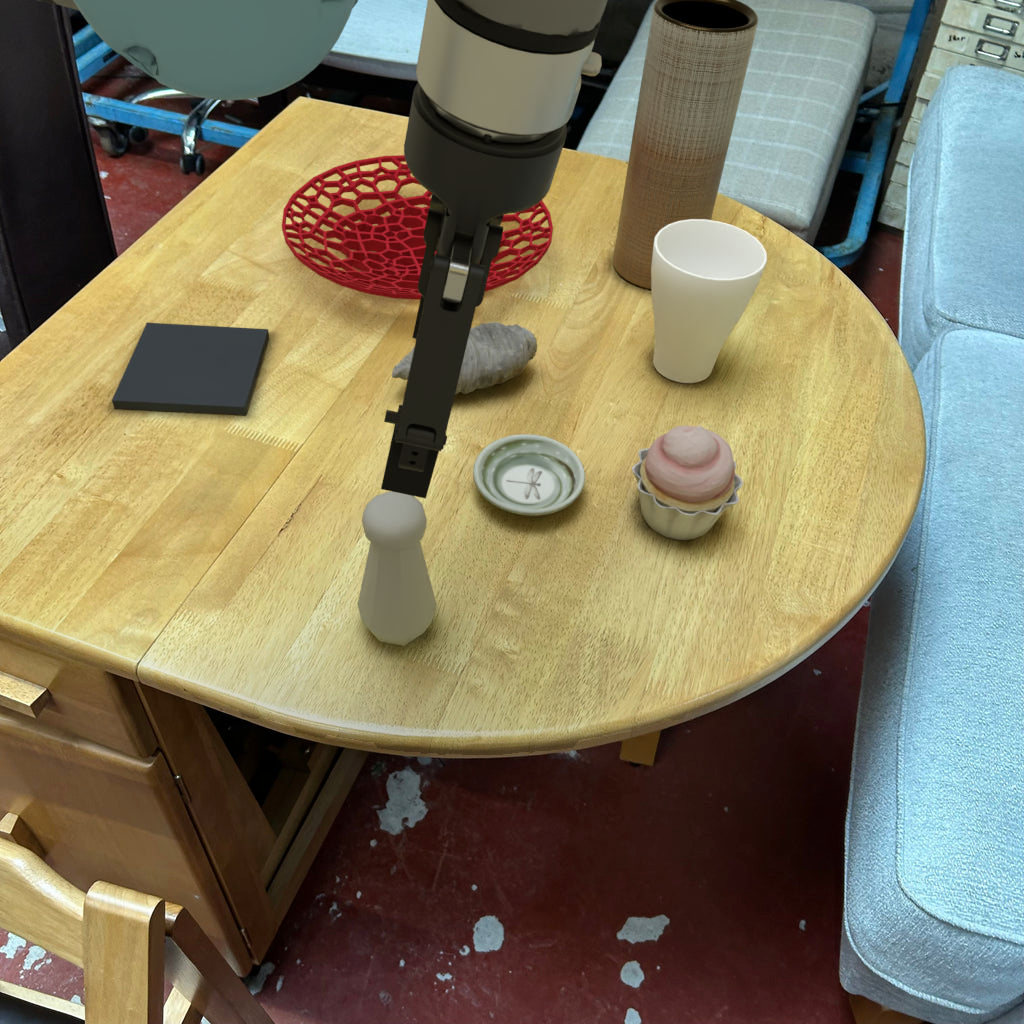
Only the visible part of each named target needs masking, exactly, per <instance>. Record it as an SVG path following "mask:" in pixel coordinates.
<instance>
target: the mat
mask: <svg viewBox="0 0 1024 1024" xmlns="http://www.w3.org/2000/svg"><path fill="white" fill-rule="evenodd" d="M269 340H270V332H269V329H268V328H256V327H255V328H253V327H235V326H234V327H233V326H220V325H219V326H217V325H200V324H199V325H198V324H180V323H179V324H178V323H161V322H146V323H145V326H144V328H143V330H142V332H141V335H140V337H139V339H138V342H137V343H136V346H135V348H134V350H133V353H132V355H131V356H130V359H129V361H128V364H127V365H126V368H125V370H124V372H123V375H122V376H121V379H120V381H119V383H118V386H117V388H116V390H115V392H114V394H113V397H112V399H111V402H112V405H113V408H114V409H116V410H117V409H118V410H136V411H137V410H138V411H158V412H175V413H194V414H195V413H196V414H215V415H217V414H219V415H237V416H247V413H248V411H249V408H250V407H249V406H250V404H251V400H252V397H253V393H254V391H255V390H254V389H255V386H256V383H257V379H258V377H259V373H260V370H261V367H262V363H263V359H264V355H265V352H266V348H267V347H268V344H269V343H268V342H269Z"/></svg>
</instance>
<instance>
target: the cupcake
mask: <svg viewBox="0 0 1024 1024" xmlns="http://www.w3.org/2000/svg"><path fill="white" fill-rule="evenodd" d="M732 451H733V450H732V448H731V445H730V444H729V443H728V442H727V441H726V439H724V438H723V437H722V436H721V435H720V434H718V433H716V432H714V431H713V430H709V429H706V428H705V427H703V426H702V425H700V424H698V425H697V426H693V425H678V426H674V427H673V428H671V429H669V430H668V431H667V432H665V433H663V434H662V435H659V436H658V437H657V438H656V439H655V440H654V441H653V442H652V444H651V445H650V447H649V448H648V447H647V448H641V449H638V456H639V457H638V458H639V461H638V462H636V463H635V464H634V465H632V467H631V471H632V473H633V475H634V478H635V480H636V483H637V490H638V492H639V501H640V511H641V515H642V517H643V519H644V521H645V522H646V524H647V525H648V526H649V528H650V529H651V530H653V531H654V532H656V533H657V534H659V535H661V536H663V537H665V538H668V539H671V540H677V541H678V540H679V541H689V540H695V539H697V538H700V537H702V536H704V535H706V534H707V533H708V532H709V531H710V530H711V529H712V528H713V526H714V525H715V523H716V522H717V521H718V520H719V518H720V517H721V516H722V515H723V514H724V512H726V511H727V510H729V509H730V508H732V507H733V506H736V505H737V504H738V503H740V502H739V501H740V499H739V495H738V493H737V492H738V491H739V490H740V489H741V488H742V487H743V485H744V481H743V479H742V477H741V476H740V475H738V474H737V473H736V468H737V462H736V461H735V460H734V457H733V452H732Z"/></svg>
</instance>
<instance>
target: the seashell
mask: <svg viewBox="0 0 1024 1024" xmlns="http://www.w3.org/2000/svg"><path fill="white" fill-rule="evenodd" d="M537 341H538V340H537V337H536V336H535V334H534V333H533V332H532V331H530V330H529V329H527V328H526V327H523V326H521V325H520V324H516V323H515V324H508V325H506V324H503V323H500V322H498V321H491V322H482V323H480V324H479V325H476V326H473V327H471V329H470V333H469V338H468V342H467V346H466V350H465V354H464V359H463V363H462V367H461V371H460V375H459V380H458V384H457V388H456V392H455V395H458V394H459V393H462V394H463V395H467V394H469V393H472V392H474V391H475V390H476V389H477V390H481V389H486V388H489V387H493V386H494V385H500V384H503V383H505V382H507V381H509V380H510V379H512V378H516V377H519V376H520V375H521V374H522V373H523V371H524V370H525V369H526V367H527V365H528V363H529V362H530V361H531V360H533V359H534V358H535V356H536V354H537V351H538V342H537ZM413 352H414V347H413V348H412V349H411V350H410V352H409V353H406V355H404V356H403V358H402V359H401V360H400V361H399V362H398V363H397V364H396V365H394V367H393V369H392V373H391V377H392V378H393V379H401V380H403V381H407V380H408V376H409V371H410V366H411V361H412V357H413Z"/></svg>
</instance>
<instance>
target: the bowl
mask: <svg viewBox="0 0 1024 1024" xmlns="http://www.w3.org/2000/svg"><path fill="white" fill-rule="evenodd" d="M403 162H404V163H403ZM382 163H391V164H393V165H394V166H396V167H397V168H396V169H389V168H386V167H384V166H382V165H383V164H382ZM376 164H377V165H378V167H377V168H375V169H373V170H361V167H365V166H371V165H376ZM353 169H356V171H354V172H350V173H345V172H346V171H349V170H353ZM335 175H338V176H339V177H340V178H339V180H326V179H328V178H330V177H332V176H335ZM399 177H406V178H402V179H400V178H399ZM366 178H373V180H369V179H366ZM384 181H393V182H395V183H396V186H395V187H394V189H393V190H384V191H382V190H380V189H379V188H378V186H377V185H378V184H379V183H380V182H384ZM318 183H319V184H320V186H319V185H318ZM345 183H346V184H347V185H345V186H344V184H345ZM410 184H414V185H415V184H416V185H420V186H422V185H421V184H420V183H419V182H418V181H417V180H416V179H415V177H414V176H412V173H411V172H410V170H409V168H408V166H407V163H406V160H405V156H404V154H399V155H398V154H397V155H381V156H375V157H370V158H364V159H357V160H354V161H351V162H347V163H344V164H340V165H337V166H334V167H332V168H330V169H327V170H326V171H324V172H321V173H319V174H317V175H315V176H313V177H312V178H311V179H309V180H307V182H306V183H305V184H303V185H302V186H301V187H299V188H298V189H297V190H295V192H294V193H293V194H291V196H290V197H289V199H288V201H287V203H286V204H285V206H284V208H283V212H282V219H281V232H282V235H283V237H284V238H283V239H284V241H285V244H286V245H287V247H288V249H289V250H290V251H291V253H292V254H293V256H294V257H295V259H297V261H299V262H300V263H301V264H302V265H304V266H305V267H306V268H308V269H309V270H311V271H312V272H313V273H314V274H316V275H317V276H319V277H321V278H322V279H323V278H324V279H325V280H328V281H330V282H332V283H334V284H336V285H339V286H340V287H344V288H347V289H351V290H354V291H356V292H360V293H363V294H367V295H374V296H378V297H384V298H389V299H399V300H417V301H418V300H419V301H420V300H421V294H420V293H419V290H418V282H419V277H420V273H421V268H422V263H423V258H424V254H425V249H426V244H425V241H424V239H423V238H424V230H425V225H426V220H427V215H428V211H429V208H430V201H431V197H432V193H431V192H429V191H428V190H427V189H426V191H425V192H424V193H423V194H422V195H416V196H409V197H404V196H402V195H401V194H399V193H400V191H401V189H402V188H403V187H404V186H408V185H410ZM361 185H362V186H364V187H367V188H370V189H372V191H363V192H362V191H361V190H360V189H358V187H360V186H361ZM328 188H329V189H330V188H331V189H332V188H338V190H337V191H336V192H329V191H327V190H325V189H328ZM310 189H313V190H315V191H316V194H312V195H311V194H310V195H306V194H305V193H306V192H308V191H309V190H310ZM344 193H345V194H346V193H353V194H354V195H355V196H356V197H355V199H353V198H347V197H342V195H343V194H344ZM321 196H323V197H325V198H327V199H328V200H329V201H330V204H329V206H328V207H327V206H325V205H324V204H323V203H321V202H319V199H320V197H321ZM298 199H300V200H303V201H306V202H307V204H306V205H304V204H302V202H300V201H299V200H298ZM363 201H379V203H380V204H379V205H377V206H376V207H374V208H367V209H366V208H365V209H361V208H360V207H359V205H360V204H361V203H362V202H363ZM421 205H424V206H423V207H422V206H421ZM292 206H295V207H297V208H298V209H299V210H300V211H296V210H295V209H294V208H293V207H292ZM340 206H345V207H350V208H353V210H354V211H353V212H351V213H349V214H347V215H343V214H342V213H339V212H337V211H335V210H334V208H336V207H340ZM312 209H317V210H321V211H322V212H323V213H322V214H321V215H320V214H318V213H317V212H316V211H314V210H312ZM386 213H388V214H389V215H385V214H386ZM529 213H531V215H530V216H529V217H528V218H524V219H522V218H521V217H520V215H522V214H529ZM541 214H544V216H542V218H541V219H540V220H536V221H534V220H535V218H537V216H538V215H541ZM307 215H308V216H310V217H311V218H313V219H314V220H316V221H315V222H314V223H312V222H310V221H308V220H305V219H306V216H307ZM383 215H385V216H383ZM287 218H288V219H290V221H291V223H287ZM294 218H299V219H300V220H301V221H300V222H298V221H296V220H295V219H294ZM329 218H332V219H333V220H335V221H333V220H331V219H329ZM533 221H534V222H533ZM546 221H547V225H548V226H546V227H544V226H542V225H543V224H544V223H545V222H546ZM510 222H511V223H512V222H516V223H517V224H519V225H518V227H517V228H512V229H508V230H503V234H502V239H501V243H500V248H499V250H500V249H501V248H504V247H506V249H504V250H501V251H499V252H498V254H497V256H496V257H495V258H494V259H493V260H492V261H491V265H490V270H489V274H488V279H487V283H486V288H485V292H489V291H492V290H493V291H494V290H495V289H497V288H500V287H502V286H504V285H507V284H510V283H512V282H515V281H517V280H519V279H520V278H522V277H523V276H524V275H525V274H527V273H528V272H529V271H531V270H532V269H534V267H536V266H537V265H539V263H540V261H542V259H543V258H544V257H545V255H546V254H547V252H548V250H549V248H550V246H551V244H552V239H553V232H554V225H553V220H552V216H551V212H550V210H549V208H548V207H547V206H546V204H545V202H544V201H543V199H542V200H541V201H540V202H539V203H538V204H536V205H535V206H533V207H531V208H529V209H527V210H524V211H521V212H517V213H511V214H504V216H503V220H502V222H501V223H510ZM323 225H324V226H326V227H328V228H329V229H331V230H323V229H322V228H321V227H322V226H323ZM345 227H347V228H348V229H347V228H345ZM306 228H308V229H309V230H306ZM528 231H529V232H528ZM537 232H540V233H537ZM515 236H517V237H516V238H514V239H510V238H513V237H515ZM334 238H335V239H337V240H339V241H341V242H338V241H334V240H330V239H334ZM292 239H295V240H299V242H296V241H294V240H292ZM310 239H311V240H312V241H314V242H316V243H317V244H320V245H322V246H323V248H319V247H318V248H317V247H313V246H312V245H310V244H309V243H306V241H305V240H310ZM541 239H548V240H546V241H544V242H542V243H540V244H537V243H536V244H535V243H533V242H535V241H539V240H541ZM522 242H526V243H527V242H528V245H526V246H524V247H521V248H517V247H515V246H518V245H520V243H522ZM296 249H298V250H299V251H300V252H302V253H300V252H297V250H296ZM328 249H331V250H334V251H337V252H340V253H342V255H344V256H345V257H347V258H341V259H340V258H339V257H338V256H336V255H335V254H334V253H332V252H331V251H329V250H328ZM528 251H533V252H532V253H529V254H527V255H524V254H525V253H527V252H528ZM436 252H437V251H435V254H436ZM435 254H434V255H435ZM522 255H524V256H522ZM509 256H514V257H513V258H512V259H511V260H507V261H503V262H499V263H497V262H498V261H500V260H502V259H504V258H507V257H509ZM535 258H536V259H535ZM314 259H315V260H318V261H320V262H321V263H323V264H320V263H318V262H316V261H315V260H314ZM479 264H480V262H479ZM339 268H340V269H339Z"/></svg>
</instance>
